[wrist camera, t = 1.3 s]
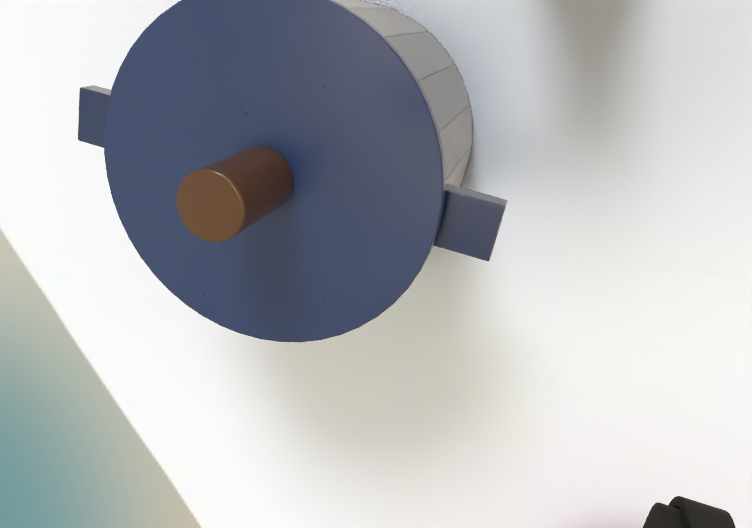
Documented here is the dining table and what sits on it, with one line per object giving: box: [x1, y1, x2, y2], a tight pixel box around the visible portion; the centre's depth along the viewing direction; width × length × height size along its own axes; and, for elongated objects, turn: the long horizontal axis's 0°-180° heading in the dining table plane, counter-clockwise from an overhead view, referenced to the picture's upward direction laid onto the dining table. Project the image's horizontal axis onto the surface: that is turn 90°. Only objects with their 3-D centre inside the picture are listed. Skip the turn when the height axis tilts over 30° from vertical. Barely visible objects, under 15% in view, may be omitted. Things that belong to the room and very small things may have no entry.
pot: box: [78, 0, 507, 261], centre depth 33 cm, size 14×19×12 cm
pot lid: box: [104, 0, 446, 342], centre depth 26 cm, size 15×15×6 cm
